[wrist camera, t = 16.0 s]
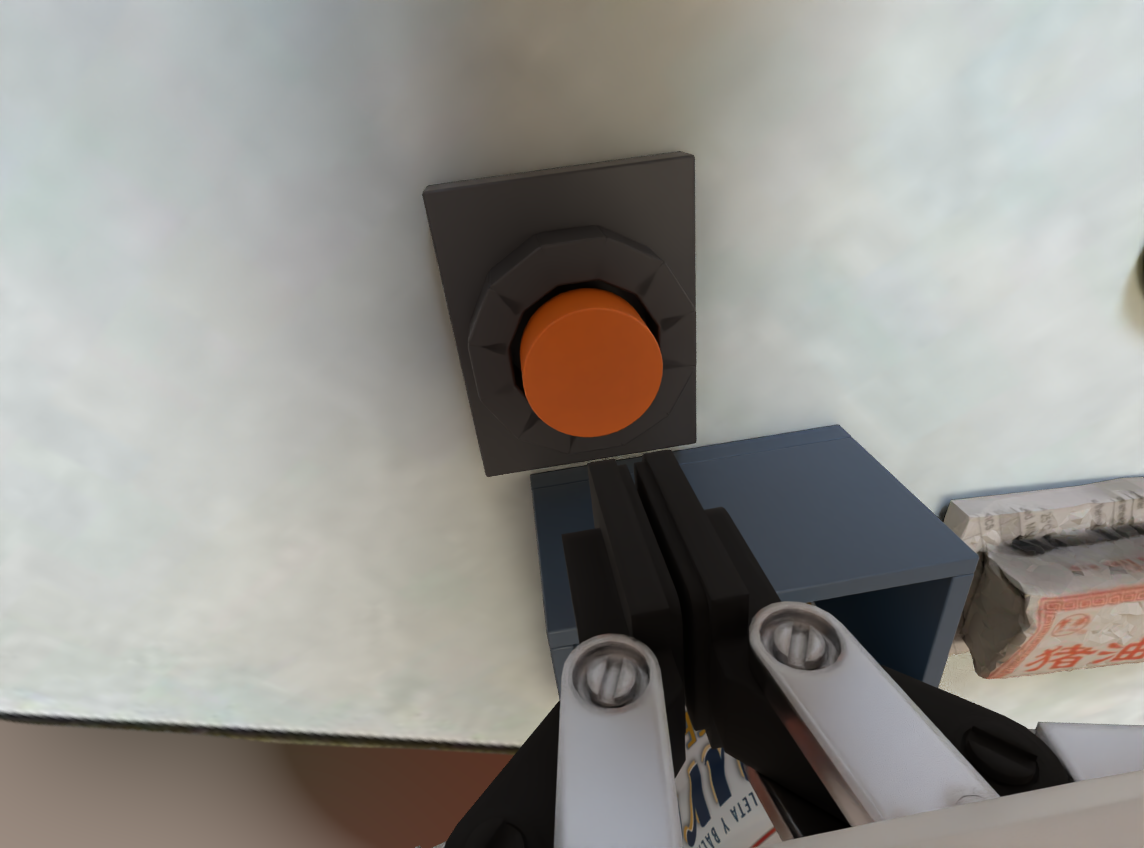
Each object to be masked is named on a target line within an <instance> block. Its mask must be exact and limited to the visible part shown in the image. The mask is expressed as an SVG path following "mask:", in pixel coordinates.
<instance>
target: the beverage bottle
mask: <svg viewBox="0 0 1144 848" xmlns="http://www.w3.org/2000/svg"><path fill="white" fill-rule="evenodd" d="M806 604H810V605H813V606H816V604H815V603H814V602H808V603H806ZM816 607H817V606H816ZM685 713H686V733H685V750H686V761H685V763H684V764H683V766H682V768H681V769H680V771H679V773H678V775H677V776H676V778H675V785H676V792H677V800H678V808H679V816H680V823H681V831H682V839H683V847H684V848H754V847H758V846H763V845H768V844H773V843H778V842H782V840H781V839H780V837H779V835H778V833H777V831H776V829H775V828H774V826H773V824H772V822H771V820H770V819H769V817H768V815H767V813H766V811H765V810H764V808H763V806H762V804H761V802H760V800H759V799H758V797H757V795H756V793H755V791H754V790H753V788H752V786H751V784H750V782H749V780H748V778H747V775H746V772H745V770H744V763H742V762H740V761H739V760H737V759H735V758H733V757H732V756H730V755H728V754H727V753H725V751H724V749H723V747H722V748H717V749H711V746H710V743H709V740H708V737H707V734H706V732H705V729H704V730H699V731H695V730H694V729H693V726H692V724H691V721H690V718H689V715H688V712H687V709H686V706H685Z"/></svg>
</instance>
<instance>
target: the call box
mask: <svg viewBox="0 0 1144 848" xmlns="http://www.w3.org/2000/svg"><path fill="white" fill-rule="evenodd" d="M422 196H423V200H424V205H425V209H426V214H427V218H428V222H429V227H430V231H431V236H432V240H433V244H434V249H435V253H436V258H437V262H438V266H439V271H440V275H441V280H442V284H443V288H444V293H445V297H446V302H447V306H448V310H449V315H450V319H451V324H452V328H453V332H454V337H455V341H456V346H457V350H458V354H459V359H460V363H461V368H462V372H463V376H464V381H465V385H466V390H467V394H468V398H469V403H470V407H471V412H472V416H473V420H474V425H475V429H476V434H477V438H478V443H479V447H480V451H481V456H482V460H483V465H484V469H485V473H486V476H487V477H490V476H497V475H503V474H509V473H515V472H521V471H527V470H533V469H540V468H546V467H552V466H558V465H564V464H570V463H576V462H583V461H589V460H595V459H601V458H607V457H613V456H619V455H626V454H632V453H638V452H644V451H650V450H656V449H663V448H669V447H675V446H681V445H687V444H693V443H696V291H695V157H694V155H692V154H688V153H685V152H681V151H678V152H671V153H663V154H656V155H649V156H641V157H634V158H627V159H619V160H612V161H605V162H597V163H590V164H583V165H575V166H568V167H561V168H553V169H546V170H539V171H531V172H524V173H517V174H509V175H502V176H495V177H487V178H480V179H473V180H465V181H458V182H451V183H443V184H436V185H429V186H427V187H426V188H425V190H424V191H423V193H422ZM580 288H596V289H601V290H606V291H609V292H612V293H614V294H616V295H618V296H620V297H621V298H623V299H624V300H626V301H627V302H628V303H629V304H630V305H631V306H633V308H634V309H635V310H636V311H637V312H638V314H639V315H640V317H641V318H642V320H643V321H644V323H645V324H646V325H647V327H648V328H649V330H650V331H651V333H652V334H653V336H654V337H655V339H656V341H657V343H658V345H659V348H660V351H661V355H662V362H663V374H662V380H661V384H660V387H659V390H658V392H657V395H656V397H655V399H654V400H653V402H652V404H651V405H650V406H649V408H648V409H647V410H646V411H645V413H644V414H643V415H642V416H641V417H640V418H638V419H637V420H636V421H635V422H633V423H632V424H630V425H629V426H627V427H625V428H624V429H621V430H619V431H617V432H614V433H611V434H609V435H604V436H599V437H577V436H572V435H568V434H565V433H562V432H560V431H557V430H556V429H554V428H552V427H550V426H549V425H547V424H546V423H545V422H543V421H542V420H541V419H540V418H539V417H538V416H537V415H536V413H535V412H534V411H533V409H532V408H531V406H530V404H529V403H528V400H527V398H526V395H525V392H524V387H523V379H522V371H521V362H520V343H521V338H522V335H523V332H524V329H525V327H526V325H527V323H528V321H529V320H530V318H531V317H532V315H533V314H534V313H535V312H536V311H537V309H538V308H539V307H541V306H542V305H543V304H544V303H545V302H547V301H548V300H550V299H551V298H553V297H555V296H557V295H559V294H561V293H563V292H566V291H569V290H574V289H580Z"/></svg>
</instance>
